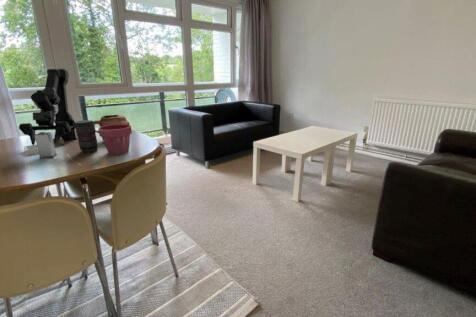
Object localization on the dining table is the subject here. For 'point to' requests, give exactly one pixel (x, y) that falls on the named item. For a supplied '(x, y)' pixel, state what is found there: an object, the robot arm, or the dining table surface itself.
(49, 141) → the housing
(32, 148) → the stand
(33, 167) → the dining table surface
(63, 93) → the robot arm
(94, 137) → the camera lens
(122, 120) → the decorative planter
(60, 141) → the walnut block
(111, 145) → the plant pot
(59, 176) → the dining table surface
